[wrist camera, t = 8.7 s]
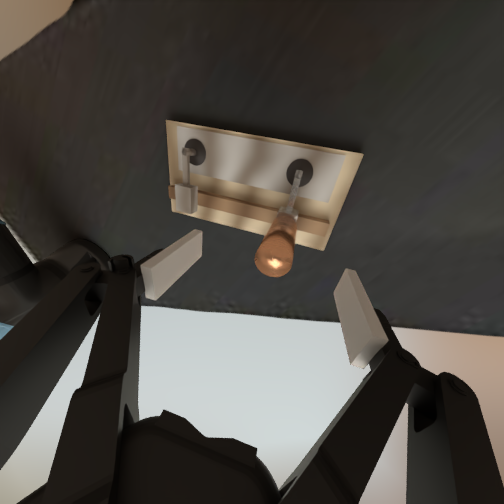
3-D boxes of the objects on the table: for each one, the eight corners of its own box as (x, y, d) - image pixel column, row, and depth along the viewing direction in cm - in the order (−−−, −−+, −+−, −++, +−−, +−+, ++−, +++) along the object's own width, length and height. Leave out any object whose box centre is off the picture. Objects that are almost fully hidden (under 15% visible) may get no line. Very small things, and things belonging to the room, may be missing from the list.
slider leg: (273, 227, 29) (251, 273, 17) (287, 167, 24) (271, 175, 13) (294, 233, 28) (285, 283, 17) (313, 172, 24) (318, 184, 12)
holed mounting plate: (176, 209, 34) (157, 216, 30) (171, 121, 28) (146, 114, 23) (323, 247, 30) (325, 262, 26) (361, 154, 23) (373, 153, 19)
